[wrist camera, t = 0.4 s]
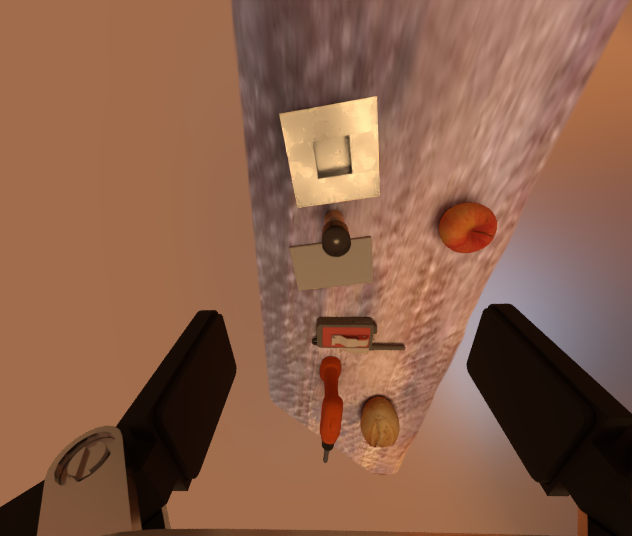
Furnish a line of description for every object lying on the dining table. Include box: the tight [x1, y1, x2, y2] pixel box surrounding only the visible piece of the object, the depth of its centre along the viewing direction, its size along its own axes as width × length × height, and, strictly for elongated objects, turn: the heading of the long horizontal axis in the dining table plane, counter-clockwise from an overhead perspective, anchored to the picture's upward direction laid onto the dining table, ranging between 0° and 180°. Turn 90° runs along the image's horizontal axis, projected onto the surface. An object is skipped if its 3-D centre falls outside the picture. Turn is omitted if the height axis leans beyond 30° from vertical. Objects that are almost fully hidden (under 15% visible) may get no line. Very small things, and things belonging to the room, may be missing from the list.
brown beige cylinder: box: [322, 210, 351, 257], centre depth 38 cm, size 4×4×10 cm
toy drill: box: [320, 357, 343, 463], centre depth 56 cm, size 5×19×15 cm, turn 175°
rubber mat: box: [289, 236, 373, 291], centre depth 46 cm, size 9×14×1 cm, turn 99°
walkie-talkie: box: [312, 317, 405, 354], centre depth 53 cm, size 9×4×20 cm
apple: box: [439, 203, 497, 253], centre depth 38 cm, size 7×7×8 cm
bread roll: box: [361, 397, 399, 447], centre depth 65 cm, size 10×15×8 cm, turn 12°
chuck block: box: [279, 96, 380, 208], centre depth 34 cm, size 11×11×6 cm
